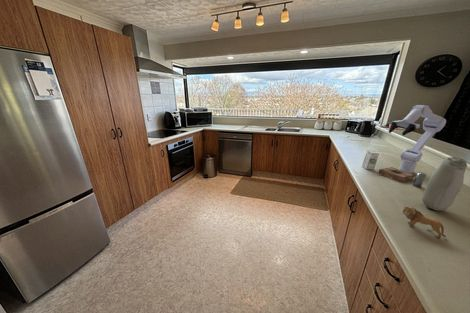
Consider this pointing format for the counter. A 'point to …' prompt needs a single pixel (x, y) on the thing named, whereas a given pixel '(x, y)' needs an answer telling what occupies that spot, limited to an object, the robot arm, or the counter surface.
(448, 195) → the white vase
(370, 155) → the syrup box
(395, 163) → the counter surface
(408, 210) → the lion figurine
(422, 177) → the grey cylinder
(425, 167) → the counter surface
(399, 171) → the bead block
